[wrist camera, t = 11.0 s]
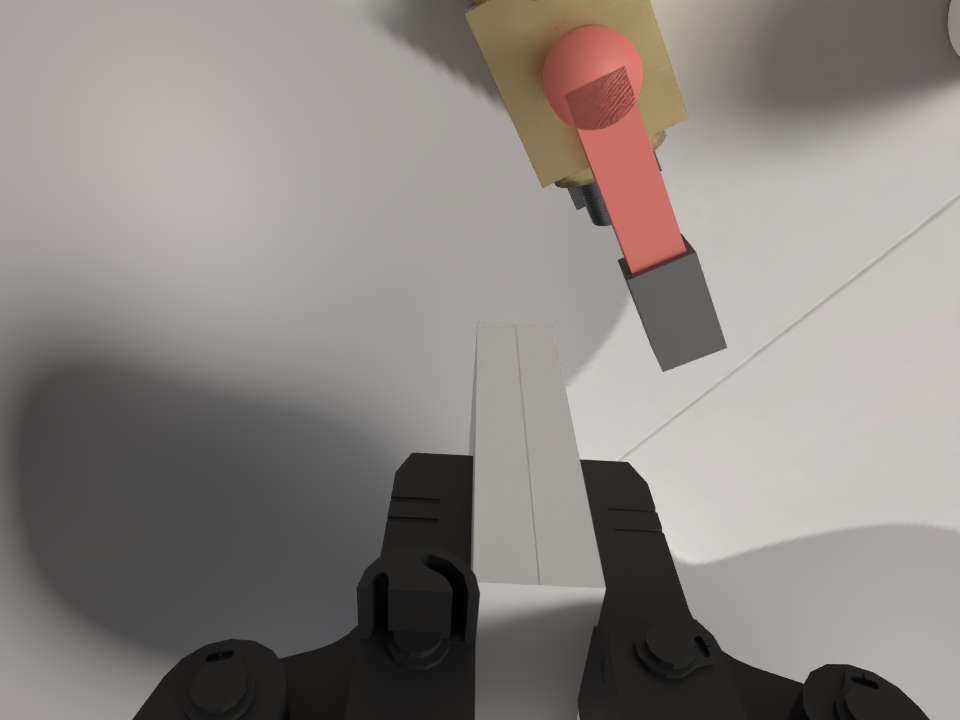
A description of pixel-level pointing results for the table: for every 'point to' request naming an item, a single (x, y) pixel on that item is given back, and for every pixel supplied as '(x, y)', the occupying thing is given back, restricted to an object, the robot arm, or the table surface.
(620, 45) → the lever
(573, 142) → the valve body
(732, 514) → the table surface
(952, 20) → the cup
